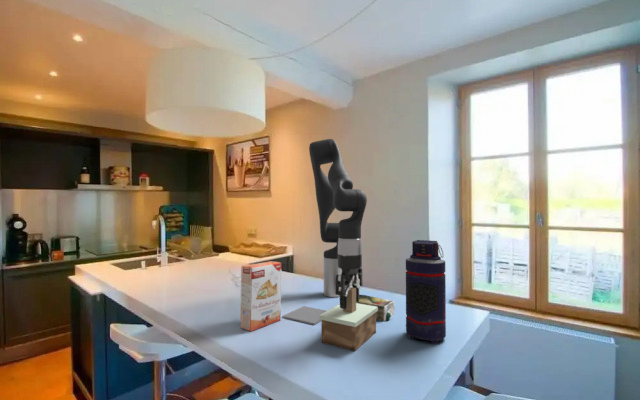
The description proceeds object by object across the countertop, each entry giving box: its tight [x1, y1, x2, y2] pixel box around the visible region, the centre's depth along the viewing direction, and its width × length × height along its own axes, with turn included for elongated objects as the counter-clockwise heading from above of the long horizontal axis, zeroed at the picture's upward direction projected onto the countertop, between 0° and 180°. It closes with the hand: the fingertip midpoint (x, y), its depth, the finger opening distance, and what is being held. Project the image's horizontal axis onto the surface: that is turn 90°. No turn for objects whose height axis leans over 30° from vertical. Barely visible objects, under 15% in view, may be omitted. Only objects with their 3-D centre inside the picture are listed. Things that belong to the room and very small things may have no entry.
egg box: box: [320, 312, 377, 352], centre depth 101 cm, size 16×11×7 cm
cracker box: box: [239, 260, 282, 332], centre depth 112 cm, size 14×6×21 cm, turn 142°
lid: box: [319, 286, 378, 327], centre depth 101 cm, size 17×12×9 cm
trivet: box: [281, 305, 327, 326], centre depth 121 cm, size 14×14×1 cm
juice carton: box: [338, 294, 395, 322], centre depth 124 cm, size 20×10×6 cm, turn 56°
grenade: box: [405, 239, 447, 345], centre depth 102 cm, size 14×12×30 cm
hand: (349, 304), depth 101 cm, fingers open, 8 cm apart
